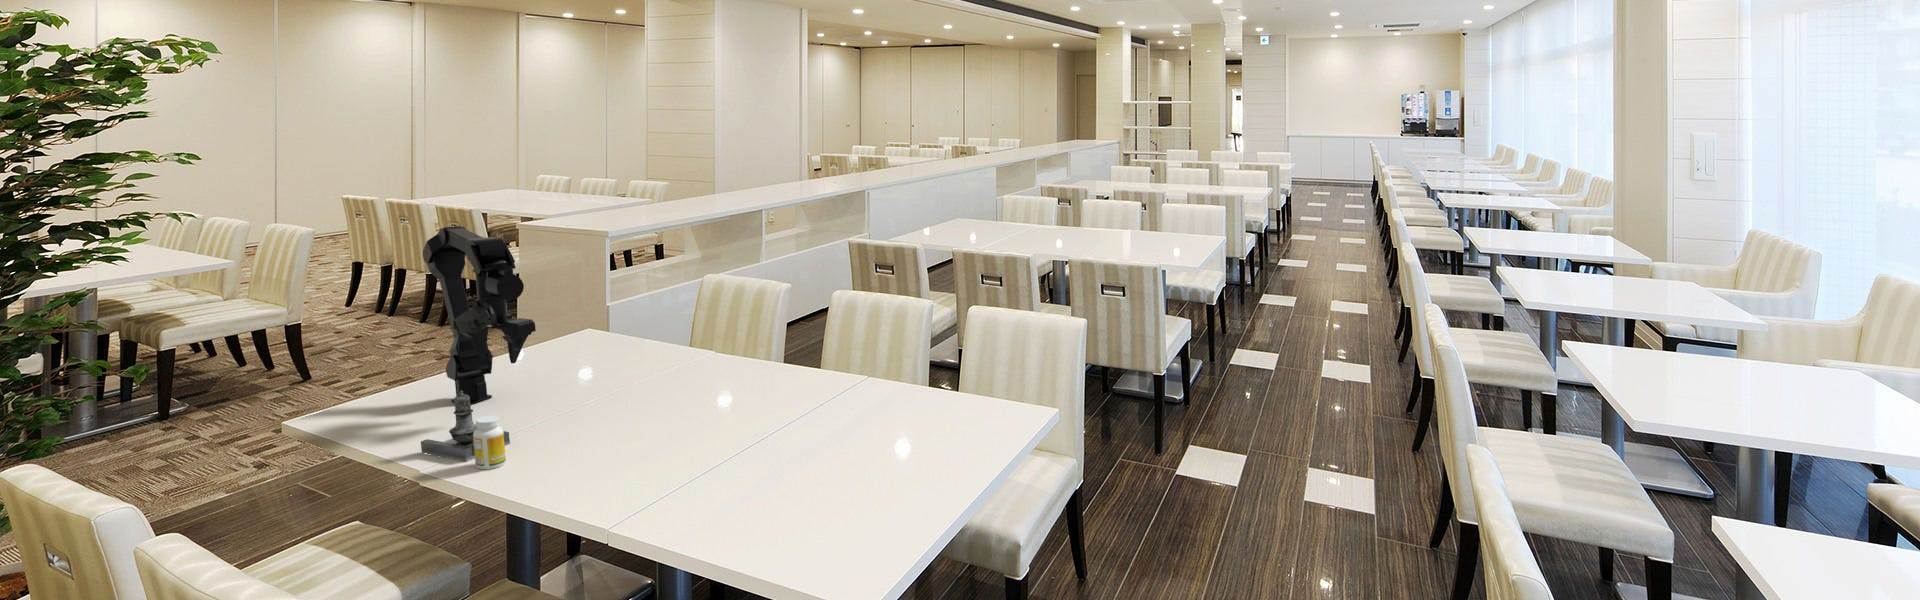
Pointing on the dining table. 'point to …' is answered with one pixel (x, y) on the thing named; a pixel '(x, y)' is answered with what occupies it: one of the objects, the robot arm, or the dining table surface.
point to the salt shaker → (463, 421)
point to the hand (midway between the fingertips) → (497, 361)
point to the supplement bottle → (489, 443)
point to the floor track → (452, 449)
